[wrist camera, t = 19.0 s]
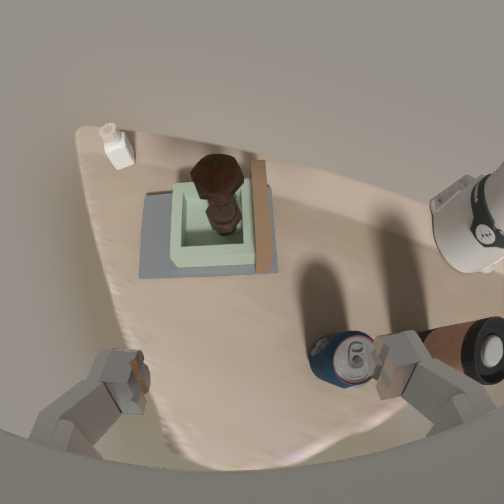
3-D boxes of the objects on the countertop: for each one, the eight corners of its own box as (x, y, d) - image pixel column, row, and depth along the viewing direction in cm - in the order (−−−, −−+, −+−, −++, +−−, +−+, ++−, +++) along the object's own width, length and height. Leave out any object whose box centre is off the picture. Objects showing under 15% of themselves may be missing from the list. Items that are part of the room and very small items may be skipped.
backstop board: (141, 278, 46) (118, 263, 37) (146, 198, 50) (129, 170, 42) (277, 272, 46) (283, 255, 38) (270, 190, 51) (273, 159, 42)
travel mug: (391, 335, 43) (471, 320, 24) (430, 329, 43) (514, 310, 24) (393, 382, 41) (473, 393, 22) (432, 374, 41) (517, 376, 22)
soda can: (351, 379, 41) (384, 388, 30) (306, 381, 41) (326, 392, 30) (353, 334, 43) (385, 328, 32) (308, 335, 43) (328, 329, 32)
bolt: (203, 216, 46) (185, 160, 32) (234, 204, 47) (228, 145, 33) (217, 250, 45) (202, 204, 30) (249, 238, 45) (249, 186, 31)
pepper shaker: (136, 165, 52) (118, 133, 43) (116, 172, 52) (96, 142, 43) (134, 149, 53) (118, 117, 44) (115, 155, 53) (97, 125, 44)
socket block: (177, 267, 45) (169, 258, 41) (180, 198, 49) (173, 183, 44) (255, 264, 46) (255, 253, 41) (251, 194, 49) (251, 178, 44)
